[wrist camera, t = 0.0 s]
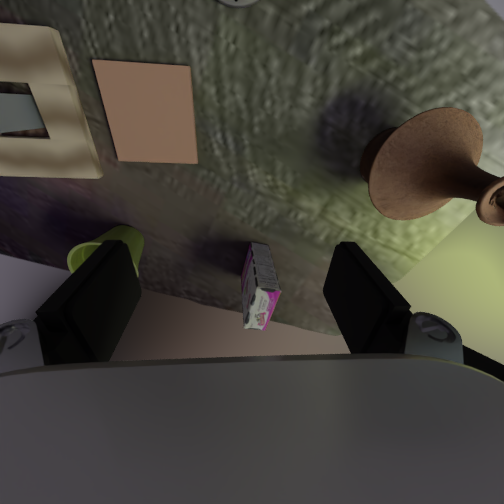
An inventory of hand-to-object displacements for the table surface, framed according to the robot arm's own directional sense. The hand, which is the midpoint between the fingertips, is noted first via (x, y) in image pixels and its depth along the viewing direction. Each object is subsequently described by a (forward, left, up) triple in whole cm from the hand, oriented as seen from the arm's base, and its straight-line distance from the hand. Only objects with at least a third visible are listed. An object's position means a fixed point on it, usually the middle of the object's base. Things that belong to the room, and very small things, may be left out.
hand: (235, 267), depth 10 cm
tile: (-4, -14, -37) cm, 40 cm away
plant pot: (+20, -24, -37) cm, 48 cm away
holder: (-4, -35, -37) cm, 51 cm away
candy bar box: (+26, +5, -37) cm, 46 cm away
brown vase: (+1, +30, -37) cm, 48 cm away
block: (-4, -35, -37) cm, 51 cm away
